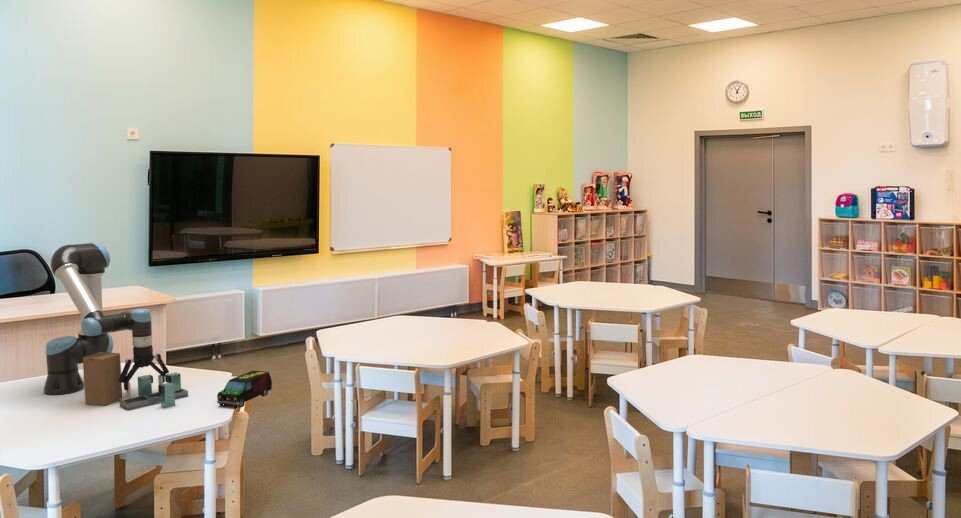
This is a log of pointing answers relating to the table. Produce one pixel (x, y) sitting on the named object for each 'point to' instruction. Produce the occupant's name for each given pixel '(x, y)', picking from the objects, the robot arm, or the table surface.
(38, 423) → the table surface
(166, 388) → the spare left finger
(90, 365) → the wooden block
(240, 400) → the toy van
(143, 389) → the teal rectangular block
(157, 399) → the rail
